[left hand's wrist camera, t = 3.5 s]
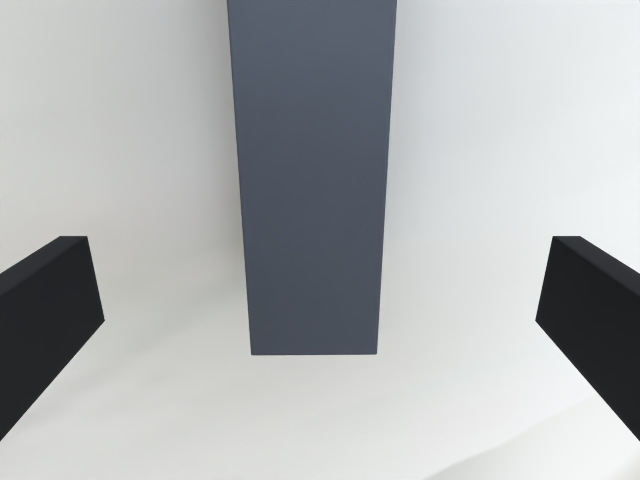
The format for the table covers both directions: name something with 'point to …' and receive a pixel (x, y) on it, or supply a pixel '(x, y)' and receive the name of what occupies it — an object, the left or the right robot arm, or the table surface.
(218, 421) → the table surface
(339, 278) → the bar
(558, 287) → the left robot arm
